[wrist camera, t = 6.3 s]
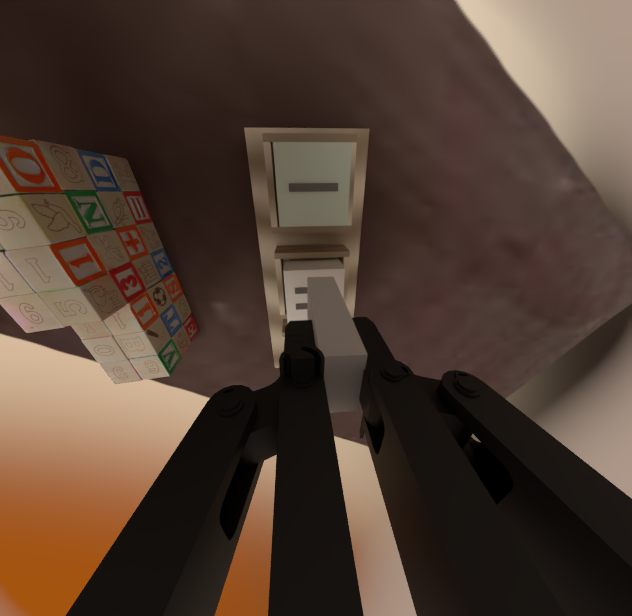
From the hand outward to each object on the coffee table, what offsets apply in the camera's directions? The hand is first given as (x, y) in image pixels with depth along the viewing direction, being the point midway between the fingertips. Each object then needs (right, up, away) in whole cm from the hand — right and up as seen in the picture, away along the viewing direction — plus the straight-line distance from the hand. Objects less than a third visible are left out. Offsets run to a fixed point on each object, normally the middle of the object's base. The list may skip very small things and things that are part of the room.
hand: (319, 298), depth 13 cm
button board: (-1, +4, +17) cm, 17 cm away
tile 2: (-1, +2, +13) cm, 13 cm away
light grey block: (-1, +11, +8) cm, 14 cm away
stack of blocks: (-21, +5, +15) cm, 26 cm away
